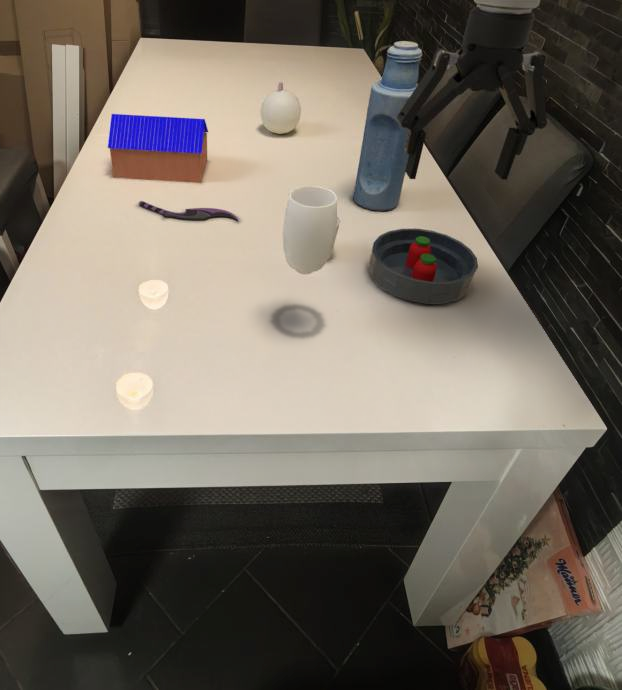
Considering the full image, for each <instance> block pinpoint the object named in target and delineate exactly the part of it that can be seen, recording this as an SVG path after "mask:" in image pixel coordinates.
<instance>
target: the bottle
mask: <svg viewBox="0 0 622 690" xmlns="http://www.w3.org/2000/svg"><path fill="white" fill-rule="evenodd" d="M422 57H423V51H422V49H421V48H419V44H418V43H417V42H414V41H407V40H401V41H400V40H399V41H395V42H394V43H393V45H392V46H389V48H388V49H387V51H386V62H385V66H384V69H383V73H382V77H381V79H380V80H376V81H374V82H373V83H372V84H371V88H370V93H369V98H368V106H367V108H366V109H367V111H366V117H365V122H364V130H363V135H362V142H361V148H360V154H359V159H358V165H357V173H356V178H355V183H354V184H355V185H354V189H353V195H352V199H353V202H354V203H356V204H357V205H358V206H359V207H362V208H364V209H366V210H369V211H377V212H384V211H390V210H393V209H395V208H396V207H397V206H398V205H399V202H400V197H401V194H402V189H403V185H404V180H405V175H406V172H405V170H406V165H407V161H408V156H409V154H407V153H406V151H405V148H404V146H405V141H406V137H407V132H408V128H404V127H402V126H401V124H400V123H399V122H398V120H397V115H398V114H399V112H400V111H401V109H402V108H403V106H404V105H405V103H406V102H407V101H408V99H409V98H410V96H411V95H412V93H413V92H414V90H415V89H416V87H417V86H418V84H419V83H418V81H419V72H420V71H419V67H420V64H421V60H422Z"/></svg>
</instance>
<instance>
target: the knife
mask: <svg viewBox="0 0 622 690" xmlns="http://www.w3.org/2000/svg"><path fill="white" fill-rule="evenodd" d="M138 205H139V206H140V207H142V208H145V209H148V210H151V211H153V212H156V213H158V214H162V216H163V218H169V217H170V218H176V219H181V220H193V221H194V220H197V221H205V220H207V219H209V218H214V217H215V218H216V217H225V218H231V219H233V220H236V221H238V222H239V218H238V216H236V214H235V213H232V212H230V211H228V210H225V209H221V208H214V207H195V208H185V211H183V212H175V211H170V210H166V209H164V208H161V207H158V206H156V205H153V204H150V203H148V202H145V201H143V200H139V202H138Z"/></svg>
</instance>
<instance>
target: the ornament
mask: <svg viewBox="0 0 622 690" xmlns="http://www.w3.org/2000/svg"><path fill="white" fill-rule="evenodd" d="M301 116H302V107H301V103H300V99H299V98H298V96H296V94H294V93H293V92H291V91H289V90H286V89H284V82H282V81H278V85H277V90H272V91H271V92H269V93H268V94H267V95H266V96H265V97H264V98H263V100H262V102H261V107H260V118H261V122H262V124H263V126H264V128H265V129H266V130H268V131H269V132H271V133H273V134H278V135H280V134H281V135H282V134H287V133H289V132H292V131H293V130H294V129H295V128H296V127H297V125H298V124H299V122H300V120H301Z"/></svg>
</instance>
